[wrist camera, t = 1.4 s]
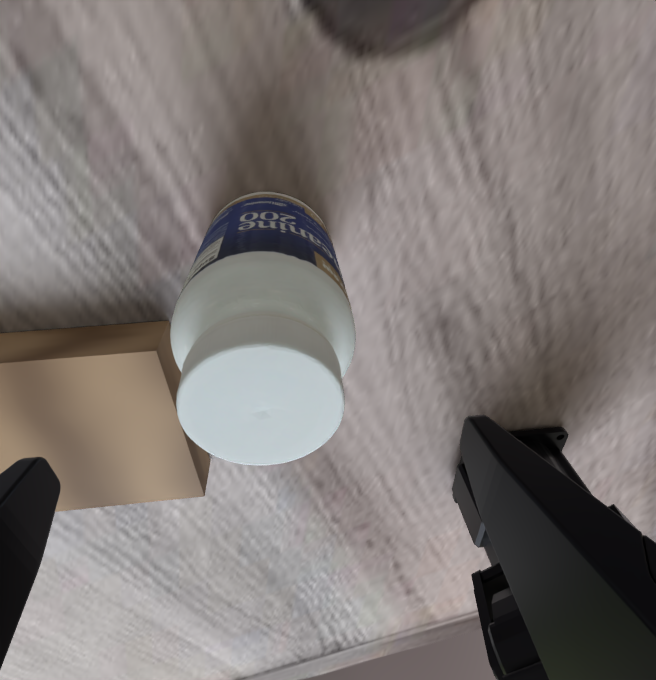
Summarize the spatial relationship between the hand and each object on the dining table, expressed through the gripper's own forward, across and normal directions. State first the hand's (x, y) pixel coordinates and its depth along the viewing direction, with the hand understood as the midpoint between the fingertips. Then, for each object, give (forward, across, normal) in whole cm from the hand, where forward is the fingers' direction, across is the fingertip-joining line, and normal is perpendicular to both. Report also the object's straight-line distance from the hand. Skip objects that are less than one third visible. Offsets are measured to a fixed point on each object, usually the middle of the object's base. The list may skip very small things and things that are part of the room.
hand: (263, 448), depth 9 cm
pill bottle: (+11, 0, 0) cm, 11 cm away
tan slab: (+11, +10, +8) cm, 17 cm away
